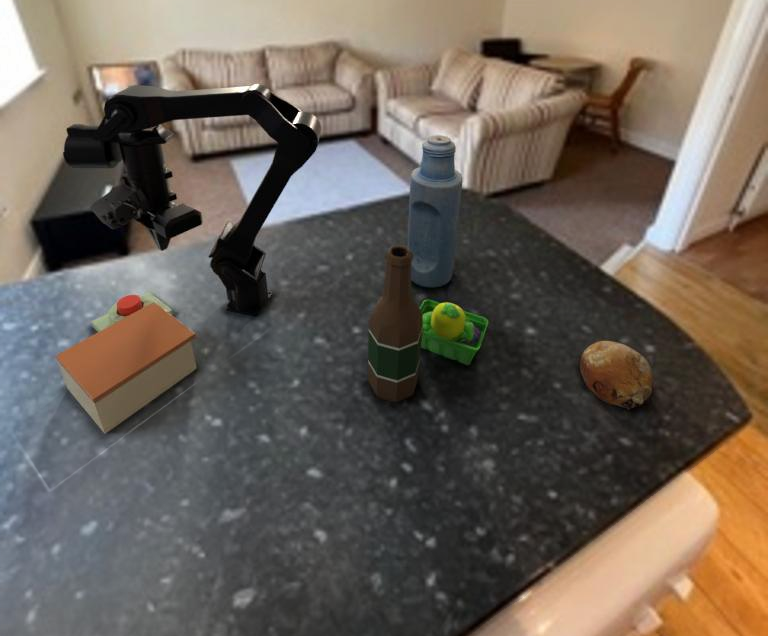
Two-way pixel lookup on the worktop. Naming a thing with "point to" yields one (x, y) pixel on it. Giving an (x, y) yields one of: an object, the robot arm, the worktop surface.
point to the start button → (129, 305)
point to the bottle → (434, 213)
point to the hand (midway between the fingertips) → (163, 249)
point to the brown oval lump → (616, 374)
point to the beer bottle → (395, 332)
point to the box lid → (124, 350)
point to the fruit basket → (451, 331)
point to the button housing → (115, 316)
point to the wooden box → (135, 389)
